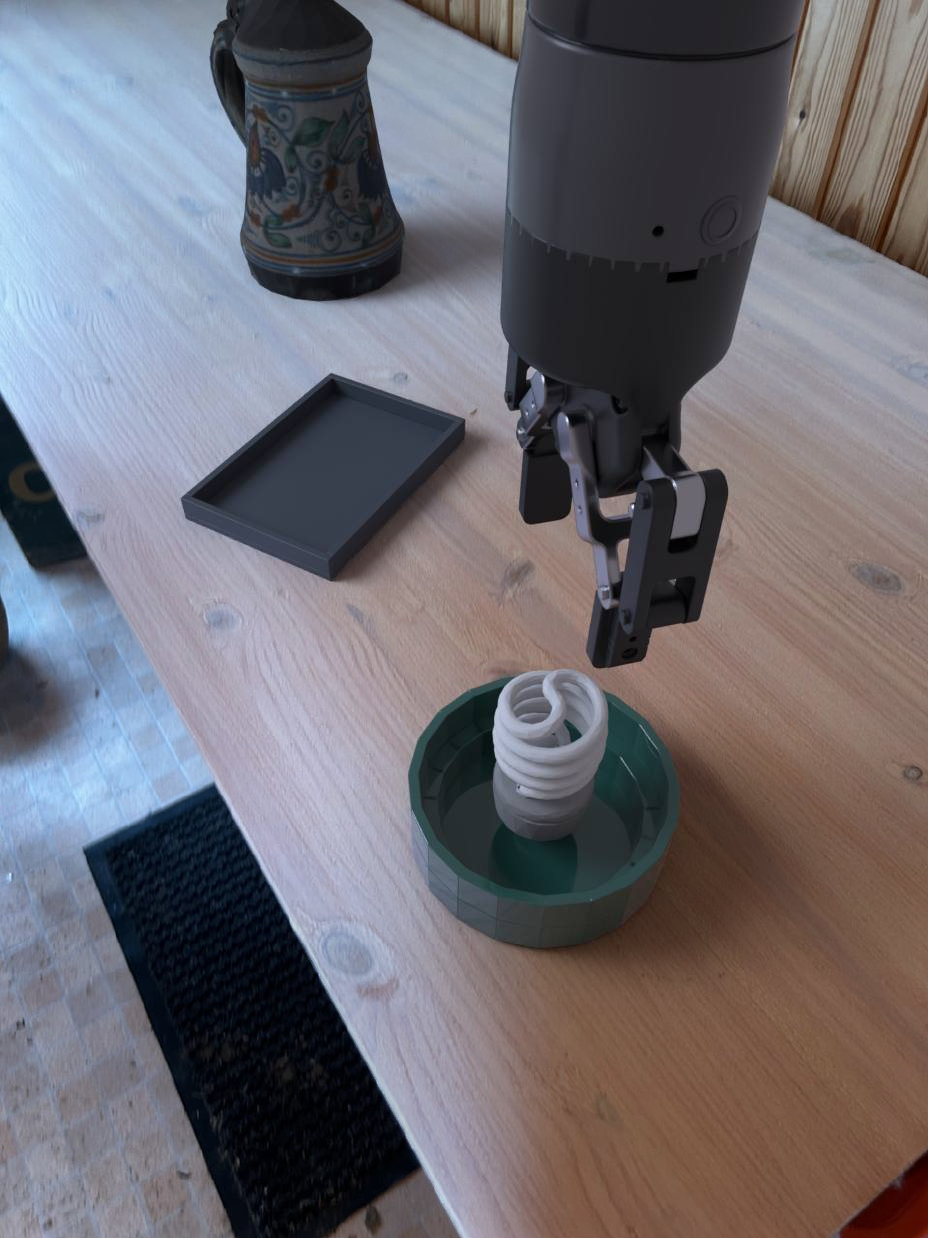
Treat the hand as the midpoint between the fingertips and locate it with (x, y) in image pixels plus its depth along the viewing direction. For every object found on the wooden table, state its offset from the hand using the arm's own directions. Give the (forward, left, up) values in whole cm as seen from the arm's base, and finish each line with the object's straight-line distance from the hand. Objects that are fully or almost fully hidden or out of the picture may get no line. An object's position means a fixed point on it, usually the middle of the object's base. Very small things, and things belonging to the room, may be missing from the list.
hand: (576, 583), depth 40 cm
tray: (+20, +28, -20) cm, 40 cm away
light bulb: (0, 0, -19) cm, 19 cm away
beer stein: (+48, +50, -20) cm, 72 cm away
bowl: (0, 0, -20) cm, 20 cm away
